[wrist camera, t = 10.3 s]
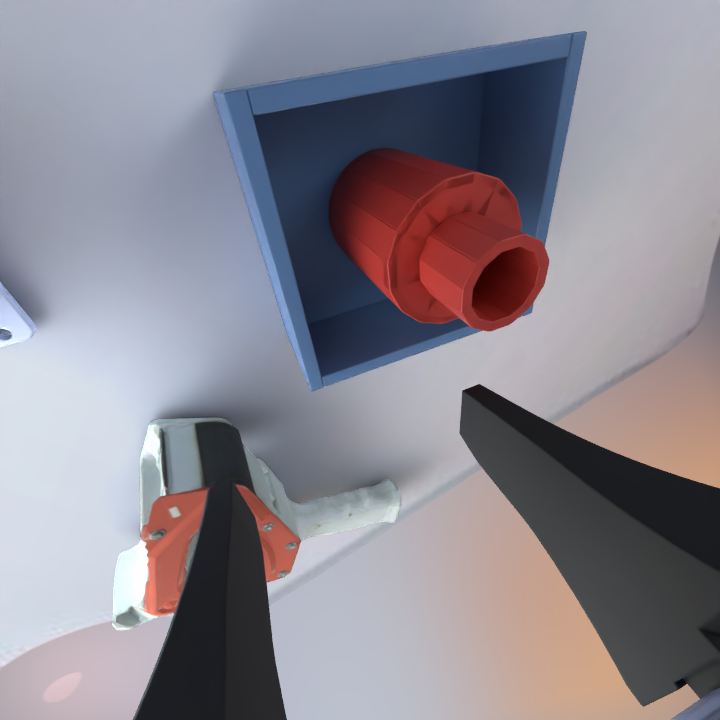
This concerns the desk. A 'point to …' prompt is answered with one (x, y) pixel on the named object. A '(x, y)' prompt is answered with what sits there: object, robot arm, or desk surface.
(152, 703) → the robot arm
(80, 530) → the desk surface
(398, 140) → the tub
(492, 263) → the bottle
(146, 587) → the tape dispenser
